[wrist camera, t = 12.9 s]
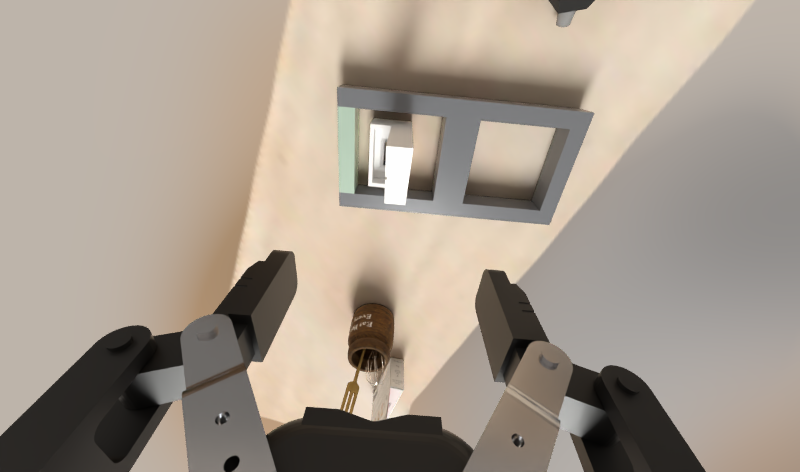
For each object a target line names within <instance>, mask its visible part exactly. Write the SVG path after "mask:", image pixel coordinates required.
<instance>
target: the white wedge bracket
mask: <svg viewBox="0 0 800 472" xmlns="http://www.w3.org/2000/svg"><path fill="white" fill-rule="evenodd" d="M385 142H387V145H386V161H384V156H385ZM412 154H413V135H412V122H411V121H401V120H391V119H381V118H374V119H373V120H372V122H371V124H370V147H369V176H368V186H372V187H383V188H385V198H384V203H386V204H397V205H405V204H406V197H407V190H408V183H409V176H410V169H411V162H412Z"/></svg>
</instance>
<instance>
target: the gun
mask: <svg viewBox="0 0 800 472" xmlns="http://www.w3.org/2000/svg"><path fill="white" fill-rule="evenodd" d="M594 1H595V0H549V2H550V3H551V4H552V6H553V7H554V8H555V10H556V11H557V12H558V15H557V22H556V25H557V26H559V27H567V26H569V25H570V23H571V20H572V18H573V16H574V14H575V11H577V10H582V9H587V8H588V7H589V6H590V5H591V4H592V3H593V2H594Z"/></svg>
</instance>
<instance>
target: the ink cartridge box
mask: <svg viewBox="0 0 800 472" xmlns="http://www.w3.org/2000/svg"><path fill="white" fill-rule="evenodd" d="M386 371H387V374H386ZM385 377H386V378H385ZM383 380H384V381H383ZM382 381H383V382H384V383H383V382H382ZM380 382H381V383H380ZM380 382H379V384H382V385H378V387H377V388H376V390H375V393H374V394H373V404H372V417H371V421H380V420H385V419H388V418H389V416H390V414H391V412H392V411H393V409H394V407H395V405H396V403H397V401H398V400H399V398H400V396H401V394H402V392H403V391H404V360H402V359H397V358H392V357H391V358H390V360H389V363H388V365H387V367H386V369H385V371H384V373H383V375H382V378H381V380H380Z"/></svg>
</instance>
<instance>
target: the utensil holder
mask: <svg viewBox="0 0 800 472" xmlns="http://www.w3.org/2000/svg"><path fill="white" fill-rule="evenodd" d="M393 337H394V318H393V315H392V313H391V311H390V310H389V309H387V308H386V307H384V306H382V305H379V304H366V305H363V306H361V307H360V308H358V309H357V310H356V312H355V313H354V316H353V319H352V323H351V327H350V332H349V338H348V345H349V350H348V360H349V363H350V364H351V365H352V366H353V367H354V368H356V369H357V371H356V374H355V377H354V381H353V382H349V383H348V385H347V388H346V392H345V395H344V398H343V402H342V405H341V409H340V410H343V408H344V405H345V402H346V399H347V395H348V392H349V391H350V395H349V398H348V402H347V405H346V409H345V412H348V408H349V405H350V402H351V398H352V395H353V393H354V398H353V401H352V405H351V409H350V412H349V413H351V414H352V412H353V408H354V405H355V401H356V398H357V394H358V391H359V386H358V384H357V378H358V374H359V371H364V372H368V373H369V372H375V377H376V371H379V370H382V372H383V369H384V368H385V367H386V366H387V364H388V361H389V358H390V351H391V349H392V346H393ZM386 374H387V371H386ZM369 376H370V375H369ZM381 376H382V375H381ZM370 378H371V377H370ZM380 378H381V377H380ZM385 378H386V377H385ZM366 379H367V375H366ZM371 380H372V379H371ZM379 380H380V379H379ZM367 381H368V380H367ZM372 381H373V380H372ZM383 381H384V380H383ZM383 381H382V382H383ZM368 382H369V381H368ZM373 382H374V381H373ZM378 382H379V381H378V373H377V382H376V384H377V387H378V385H382V384H379V383H378ZM369 383H370V384H373V383H371V382H369ZM374 383H375V382H374ZM380 383H381V382H380ZM383 383H384V382H383ZM376 384H375V385H376ZM375 385H374V386H375Z"/></svg>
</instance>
